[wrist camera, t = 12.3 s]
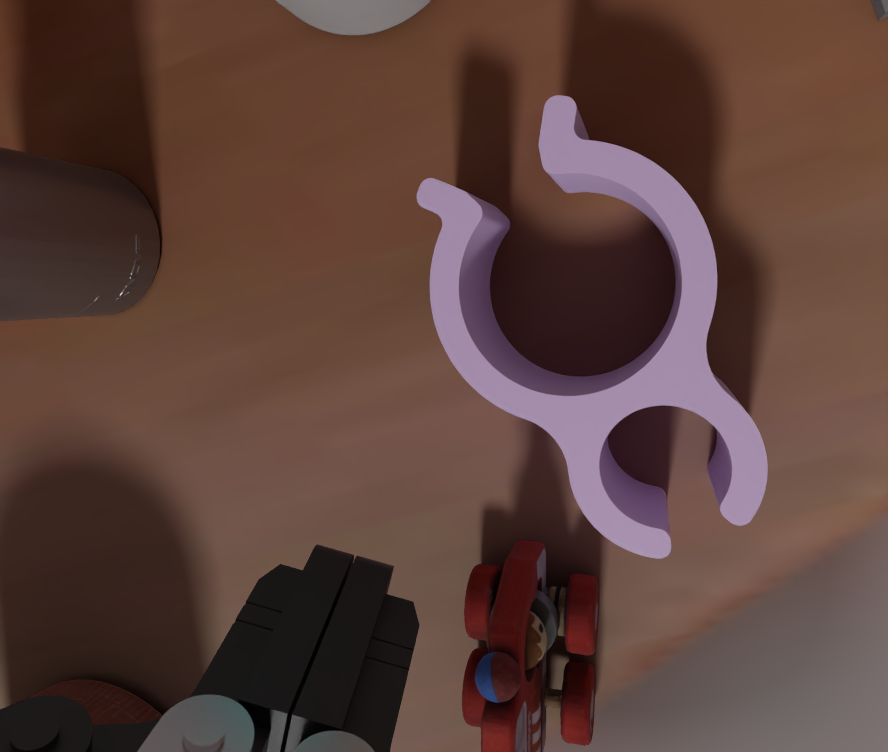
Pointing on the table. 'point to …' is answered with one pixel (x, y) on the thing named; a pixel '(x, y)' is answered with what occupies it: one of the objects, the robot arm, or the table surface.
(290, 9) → the cylinder vase
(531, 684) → the toy fire truck
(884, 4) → the dock
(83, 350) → the table surface
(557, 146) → the clip
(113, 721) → the planter
